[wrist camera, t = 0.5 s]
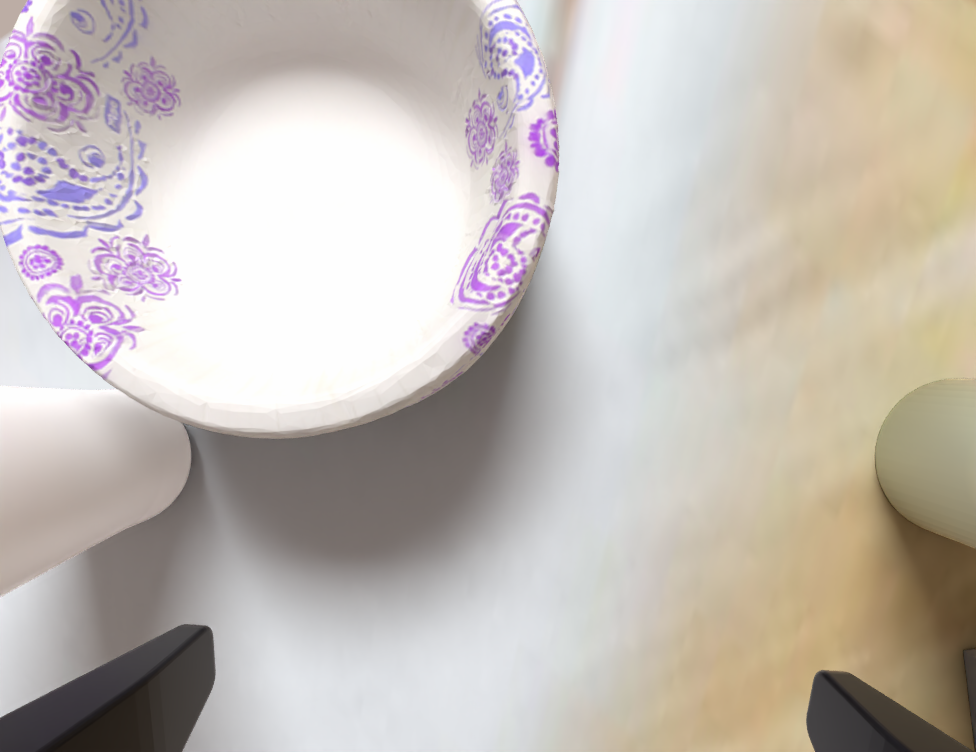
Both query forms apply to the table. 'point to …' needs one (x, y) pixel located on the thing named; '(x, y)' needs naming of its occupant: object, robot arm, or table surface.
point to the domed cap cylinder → (932, 458)
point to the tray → (971, 685)
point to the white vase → (79, 473)
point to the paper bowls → (276, 197)
